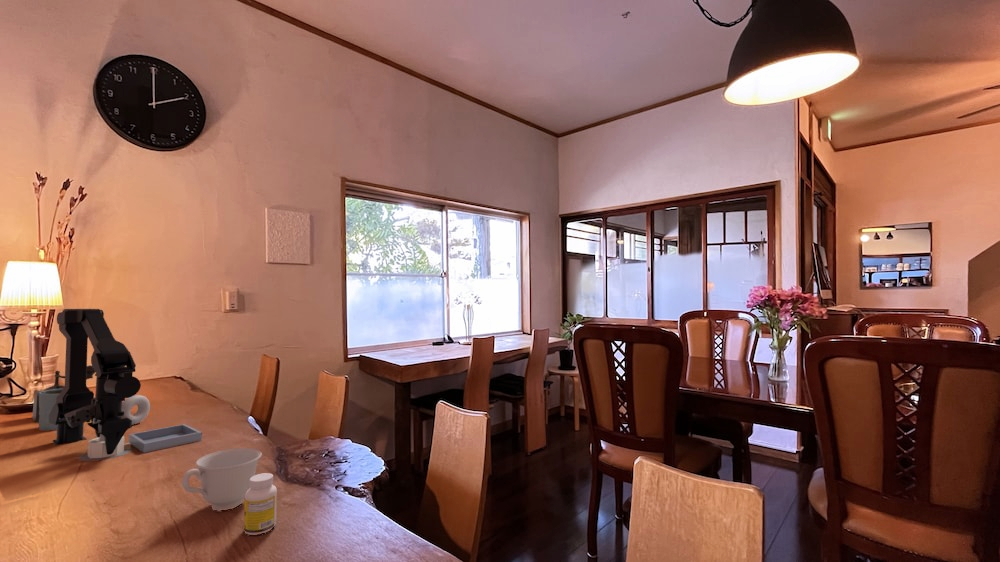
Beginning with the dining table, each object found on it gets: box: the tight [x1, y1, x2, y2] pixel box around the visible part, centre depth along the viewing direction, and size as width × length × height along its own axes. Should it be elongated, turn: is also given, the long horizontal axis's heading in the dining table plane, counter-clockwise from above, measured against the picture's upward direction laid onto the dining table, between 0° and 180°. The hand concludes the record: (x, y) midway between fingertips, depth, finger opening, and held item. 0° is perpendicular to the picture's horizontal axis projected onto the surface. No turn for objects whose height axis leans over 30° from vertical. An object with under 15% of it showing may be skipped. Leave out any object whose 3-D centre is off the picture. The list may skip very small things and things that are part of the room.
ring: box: [87, 435, 132, 458], centre depth 120 cm, size 7×9×4 cm
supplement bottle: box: [243, 472, 278, 534], centre depth 83 cm, size 5×5×10 cm
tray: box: [128, 423, 203, 454], centre depth 131 cm, size 14×14×3 cm
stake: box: [77, 434, 133, 462], centre depth 120 cm, size 11×11×7 cm
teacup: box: [181, 447, 263, 510], centre depth 91 cm, size 12×15×10 cm
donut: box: [118, 394, 151, 426], centre depth 149 cm, size 10×3×10 cm, turn 168°
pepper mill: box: [31, 364, 96, 423], centre depth 159 cm, size 16×11×18 cm
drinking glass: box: [38, 388, 64, 432], centre depth 145 cm, size 10×10×12 cm
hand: (106, 451), depth 120 cm, fingers closed on ring, 7 cm apart
